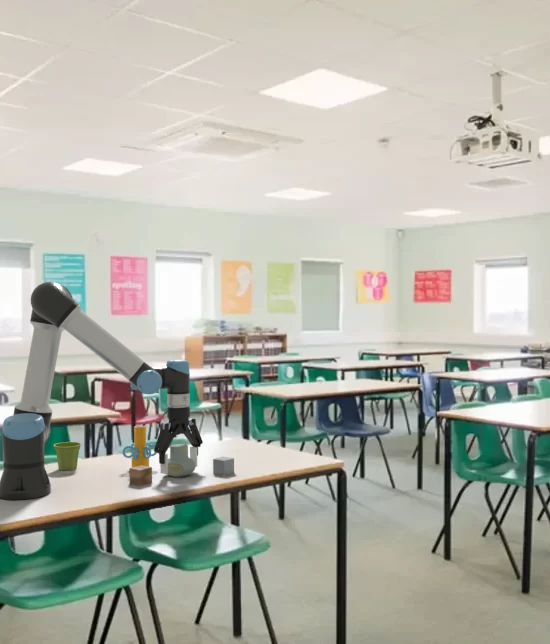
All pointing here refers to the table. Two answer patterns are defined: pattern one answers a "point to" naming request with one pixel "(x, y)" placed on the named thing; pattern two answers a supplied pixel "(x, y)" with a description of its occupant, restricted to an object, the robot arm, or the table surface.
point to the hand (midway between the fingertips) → (179, 469)
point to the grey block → (223, 466)
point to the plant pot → (67, 455)
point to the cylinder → (139, 448)
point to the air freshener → (180, 461)
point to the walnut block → (140, 475)
